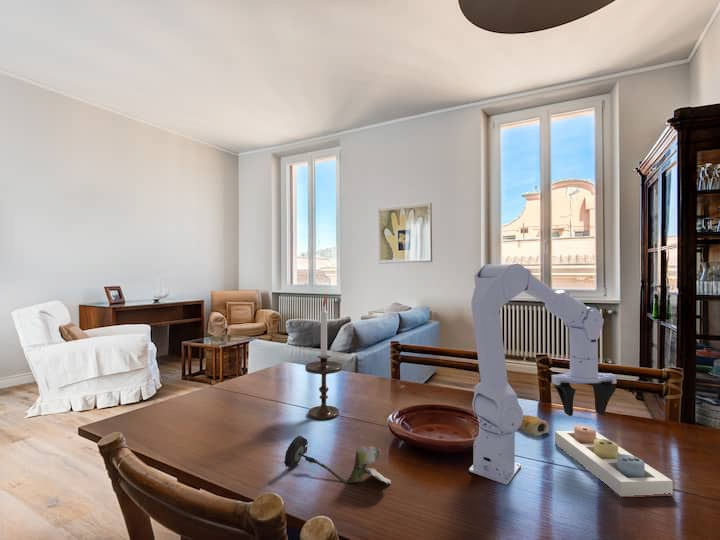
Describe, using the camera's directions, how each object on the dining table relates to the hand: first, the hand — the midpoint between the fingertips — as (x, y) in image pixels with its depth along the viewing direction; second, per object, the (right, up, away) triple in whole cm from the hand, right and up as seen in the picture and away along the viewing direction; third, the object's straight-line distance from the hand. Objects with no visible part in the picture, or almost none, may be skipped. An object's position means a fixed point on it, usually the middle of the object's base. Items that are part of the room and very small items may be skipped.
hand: (584, 413), depth 88 cm
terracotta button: (0, -7, 0) cm, 7 cm away
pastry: (-7, -9, +12) cm, 17 cm away
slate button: (+1, -7, -14) cm, 16 cm away
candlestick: (-64, -9, +22) cm, 68 cm away
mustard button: (0, -7, -7) cm, 10 cm away
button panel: (0, -9, -7) cm, 11 cm away
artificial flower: (-57, -9, -11) cm, 59 cm away
